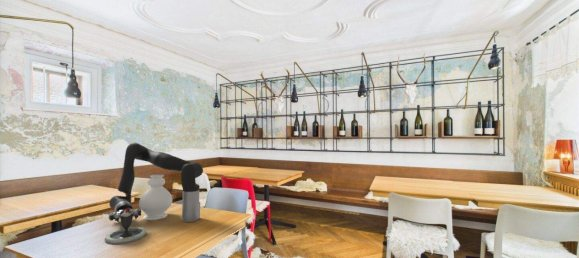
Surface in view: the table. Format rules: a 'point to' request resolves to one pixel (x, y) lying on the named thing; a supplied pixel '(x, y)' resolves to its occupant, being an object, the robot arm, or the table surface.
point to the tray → (116, 239)
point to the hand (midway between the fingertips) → (127, 218)
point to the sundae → (126, 221)
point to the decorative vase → (155, 199)
